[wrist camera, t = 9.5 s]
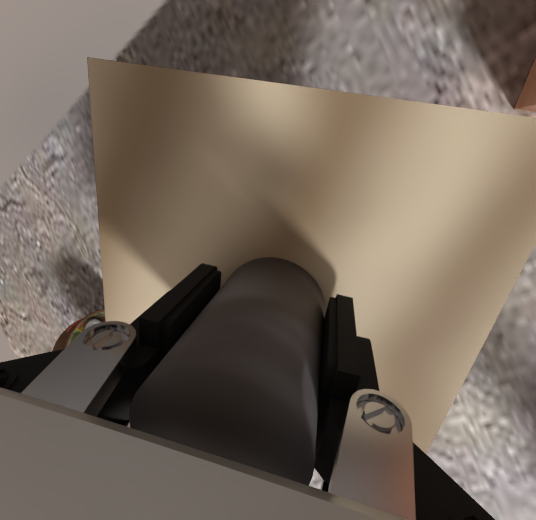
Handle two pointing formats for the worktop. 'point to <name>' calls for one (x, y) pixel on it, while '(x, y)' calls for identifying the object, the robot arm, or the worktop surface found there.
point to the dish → (528, 92)
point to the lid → (303, 245)
